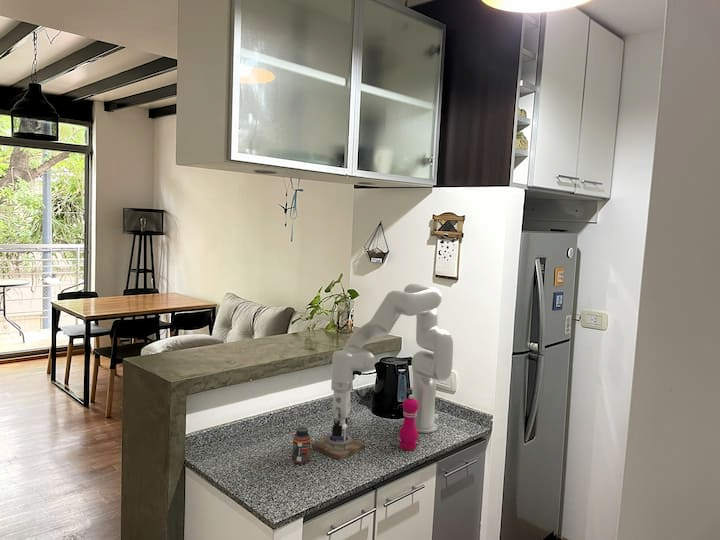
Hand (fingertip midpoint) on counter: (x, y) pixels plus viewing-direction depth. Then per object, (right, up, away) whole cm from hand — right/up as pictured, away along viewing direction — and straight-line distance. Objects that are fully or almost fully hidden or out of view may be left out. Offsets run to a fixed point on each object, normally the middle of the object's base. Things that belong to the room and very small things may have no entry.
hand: (340, 430), depth 194 cm
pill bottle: (0, -5, 0) cm, 5 cm away
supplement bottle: (-13, -7, -11) cm, 19 cm away
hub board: (-1, -7, 0) cm, 7 cm away
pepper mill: (+25, -8, +5) cm, 27 cm away
